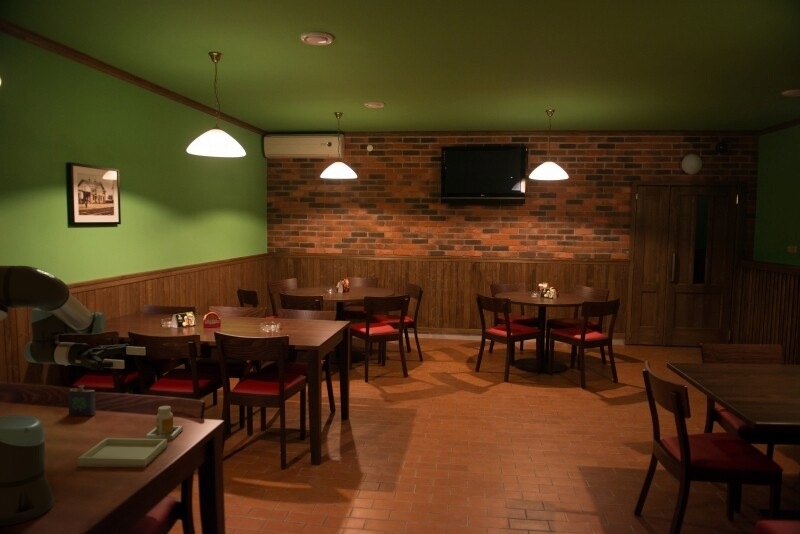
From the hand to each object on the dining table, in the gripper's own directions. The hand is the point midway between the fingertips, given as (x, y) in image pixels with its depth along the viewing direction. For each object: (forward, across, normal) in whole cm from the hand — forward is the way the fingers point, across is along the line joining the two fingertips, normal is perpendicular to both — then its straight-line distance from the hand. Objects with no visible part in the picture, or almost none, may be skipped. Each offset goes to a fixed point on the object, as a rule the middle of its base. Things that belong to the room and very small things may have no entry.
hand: (134, 357), depth 185 cm
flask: (-31, -16, -30) cm, 46 cm away
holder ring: (+9, -1, -28) cm, 29 cm away
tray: (+5, +17, -26) cm, 32 cm away
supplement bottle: (+9, -1, -28) cm, 29 cm away
